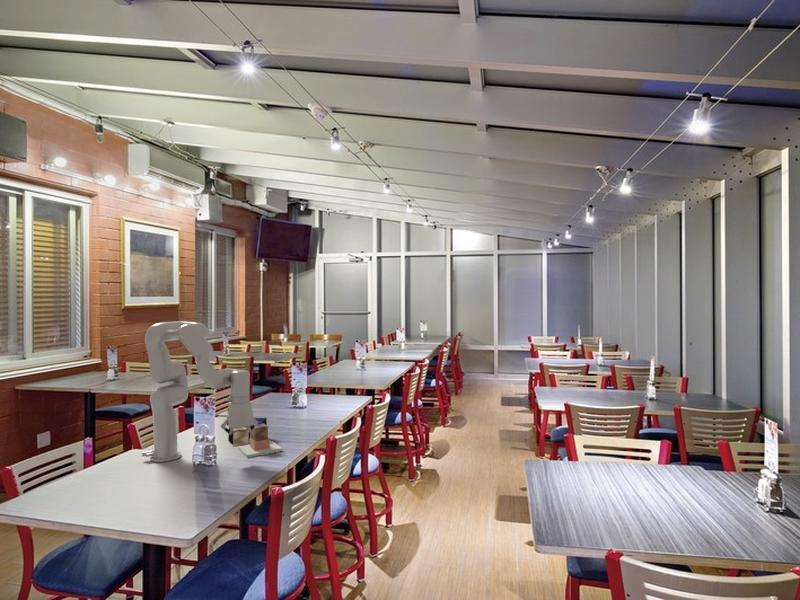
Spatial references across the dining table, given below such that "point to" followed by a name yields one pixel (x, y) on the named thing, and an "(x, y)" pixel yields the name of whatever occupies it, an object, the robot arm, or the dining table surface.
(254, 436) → the walnut brick
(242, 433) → the maple brick
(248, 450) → the build board
